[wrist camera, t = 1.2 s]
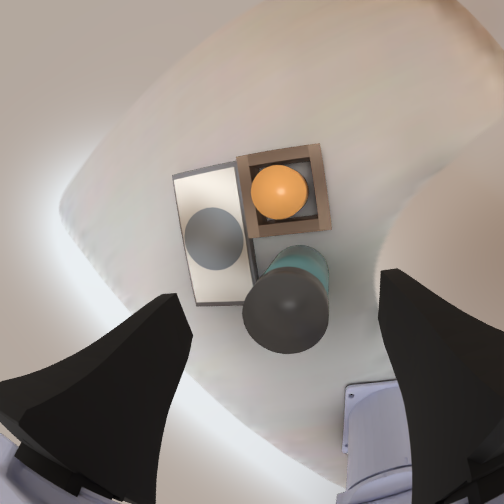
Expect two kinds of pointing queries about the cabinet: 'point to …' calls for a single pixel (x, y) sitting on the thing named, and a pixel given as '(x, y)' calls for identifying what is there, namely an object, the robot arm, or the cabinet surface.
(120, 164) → the cabinet surface
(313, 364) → the cabinet surface
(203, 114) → the cabinet surface
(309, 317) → the cylinder
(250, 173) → the button collar
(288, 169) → the button
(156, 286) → the cabinet surface
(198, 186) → the drawing pad
